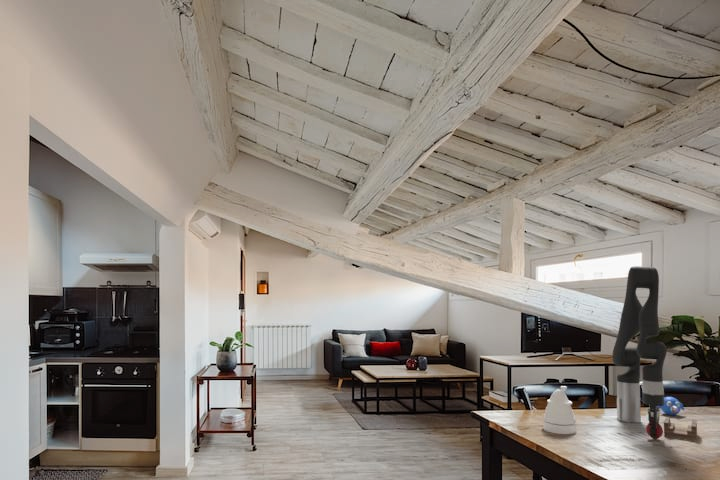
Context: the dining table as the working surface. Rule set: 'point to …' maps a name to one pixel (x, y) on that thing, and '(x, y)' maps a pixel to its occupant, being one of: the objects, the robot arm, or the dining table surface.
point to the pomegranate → (659, 430)
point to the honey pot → (559, 414)
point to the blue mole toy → (671, 406)
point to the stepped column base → (680, 431)
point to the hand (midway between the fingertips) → (654, 435)
